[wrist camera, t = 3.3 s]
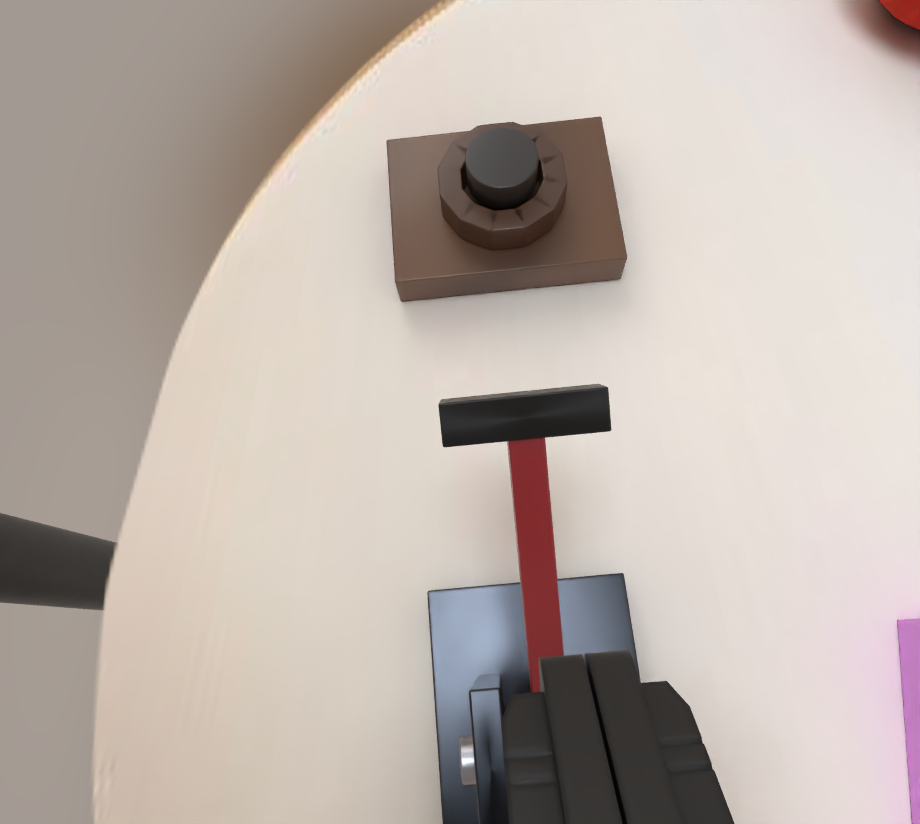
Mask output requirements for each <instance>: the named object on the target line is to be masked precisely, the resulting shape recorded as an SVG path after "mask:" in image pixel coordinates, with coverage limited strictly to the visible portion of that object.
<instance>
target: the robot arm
mask: <svg viewBox="0 0 920 824" xmlns="http://www.w3.org/2000/svg"><path fill="white" fill-rule="evenodd" d="M539 675H540V691H541V692H532V693H520V694H511V697H510V699H509V702H508V705H507V707H506V710H505V713H504V715H503V718H502V721H501V729H502V741H503V753H504V765H505V777H506V789H507V801H508V813H509V824H734V821H733V819H732V816H731V813H730V811H729V808H728V806H727V803H726V800H725V798H724V795H723V792H722V790H721V787H720V785H719V782H718V779H717V777H716V774H715V771H714V770H713V769H712V765H711V761H710V758H709V756H708V753H707V750H706V748H705V745H704V744H703V743H702V737H701V735H700V732H699V730H698V727H697V724H696V722H695V719H694V716H693V714H692V711H691V709H690V706H689V705H688V704H687V703H686V702H685V701H684V700H683V699H682V697H681V696H680V695H679V694H678V693H677V692H676V691H675V690H674V689H673V687H672V686H671V685H670V684H669V683H668V682H667V681H661V682H649V683H640V679H639V676H638V673H637V670H636V667H635V664H634V660H633V658H632V655H631V653H630V651H629V650H619V651H608V652H596V653H585V655H584V658H583V655H582V654H575V655H563V656H551V657H539Z"/></svg>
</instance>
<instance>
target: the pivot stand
mask: <svg viewBox="0 0 920 824" xmlns="http://www.w3.org/2000/svg"><path fill="white" fill-rule="evenodd" d="M557 581H558V592H559V604H560V615H561V626H562V638H563V649H564V655H575V654H582V655H583V658H584V655H585V653H596V652H608V651H619V650H629V651H630V653H631V655H632V658H633V660H634V664H635V667H636V670H637V673H638V676H639V679H640V675H639V669H638V662H637V656H636V650H635V643H634V637H633V631H632V624H631V618H630V611H629V605H628V599H627V592H626V586H625V579H624V574H622V573H619V574H608V575H597V576H586V577H575V578H564V579H557ZM428 608H429V623H430V638H431V653H432V668H433V683H434V698H435V713H436V728H437V743H438V758H439V773H440V788H441V803H442V818H443V824H509V813H508V801H507V789H506V777H505V765H504V753H503V741H502V729H501V721H502V718H503V715H504V713H505V710H506V707H507V705H508V702H509V699H510V697H511V694H520V693H531V690H530V679H529V669H528V658H527V647H526V637H525V626H524V615H523V605H522V594H521V583H509V584H498V585H487V586H476V587H465V588H454V589H443V590H432V591H428ZM640 683H641V682H640Z"/></svg>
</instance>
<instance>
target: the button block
mask: <svg viewBox="0 0 920 824" xmlns="http://www.w3.org/2000/svg"><path fill="white" fill-rule="evenodd" d="M494 128H511V129H515V130H518V131H520V132H522V133H524V134H526V135H527V136H528V137H529V138H530V139H531V140H532V141H533V142H534V144H535V146H536V148H537V151H538V171H537V183H536V187H535V189H534V191H533V193H532V194H531V195H530V197H529V198H528V199H526V200H525V201H524V202H523V203H521V204H519V205H517V206H514V207H511V208H505V209H497V208H491V207H488V206H485V205H483V204H482V203H480V202H479V201H477V200H476V199H475V198H474V197H473V196H472V194H471V193H470V191H469V189H468V185H467V177H466V163H465V156H466V152H467V149H468V147H469V145H470V144H471V142H472V141H473V140H474V139H475V138H476V137H477V136H478V135H480V134H481V133H483V132H485V131H487V130H490V129H494ZM387 157H388V173H389V190H390V206H391V223H392V239H393V255H394V272H395V283H396V286H397V290H398V293H399V296H400V300H401V301H409V300H419V299H429V298H438V297H448V296H458V295H468V294H477V293H487V292H497V291H507V290H516V289H526V288H536V287H545V286H555V285H565V284H575V283H584V282H594V281H604V280H613V279H620V278H621V275H622V272H623V269H624V266H625V263H626V260H627V254H626V248H625V243H624V237H623V232H622V227H621V221H620V216H619V210H618V205H617V200H616V194H615V189H614V183H613V178H612V172H611V167H610V162H609V156H608V151H607V145H606V140H605V135H604V129H603V124H602V118H601V117H593V118H584V119H575V120H566V121H557V122H548V123H538V124H529V125H520V124H517V123H514V122H512V123H511V122H507V123H497V124H488V125H480V126H477V127H475V128H474V129H472V130H471V131H465V132H456V133H447V134H438V135H429V136H420V137H411V138H401V139H392V140H387Z"/></svg>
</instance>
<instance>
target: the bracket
mask: <svg viewBox="0 0 920 824" xmlns="http://www.w3.org/2000/svg"><path fill="white" fill-rule="evenodd" d="M898 633H899V647H900V661H901V674H902V688H903V702H904V716H905V730H906V743H907V757H908V771H909V785H910V798H911V812H912V824H920V619H908V620H898Z"/></svg>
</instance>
